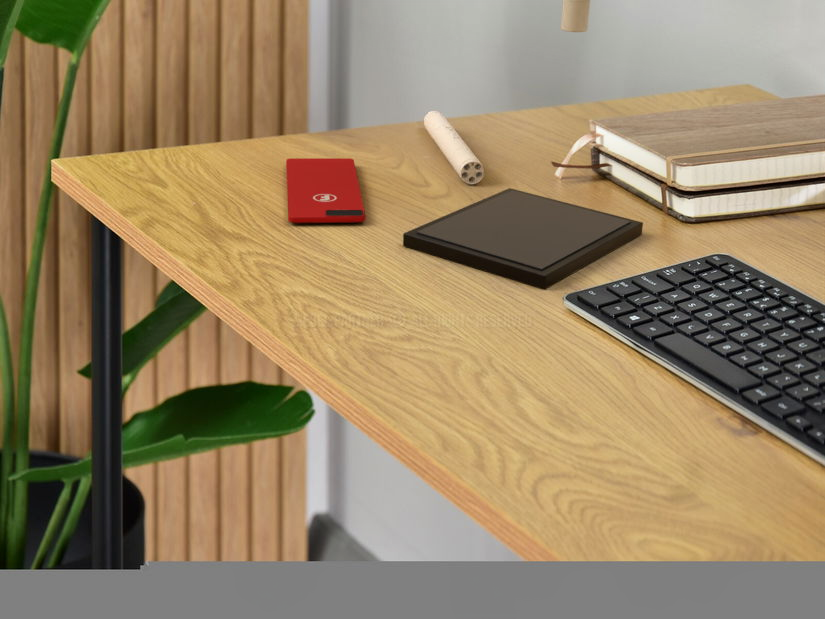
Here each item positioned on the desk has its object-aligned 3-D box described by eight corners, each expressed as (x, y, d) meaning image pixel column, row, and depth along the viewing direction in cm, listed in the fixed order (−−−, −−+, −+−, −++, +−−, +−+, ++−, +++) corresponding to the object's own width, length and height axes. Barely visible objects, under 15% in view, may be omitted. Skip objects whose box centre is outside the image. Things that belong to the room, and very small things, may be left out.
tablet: (508, 199, 97) (509, 186, 97) (642, 234, 91) (643, 221, 90) (402, 246, 87) (403, 231, 87) (544, 289, 80) (545, 274, 80)
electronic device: (286, 163, 104) (288, 223, 90) (286, 157, 103) (288, 216, 90) (353, 163, 104) (365, 223, 91) (353, 157, 104) (365, 216, 90)
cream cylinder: (419, 126, 116) (419, 102, 115) (440, 126, 117) (441, 102, 116) (459, 185, 100) (461, 158, 99) (484, 184, 100) (485, 157, 100)
